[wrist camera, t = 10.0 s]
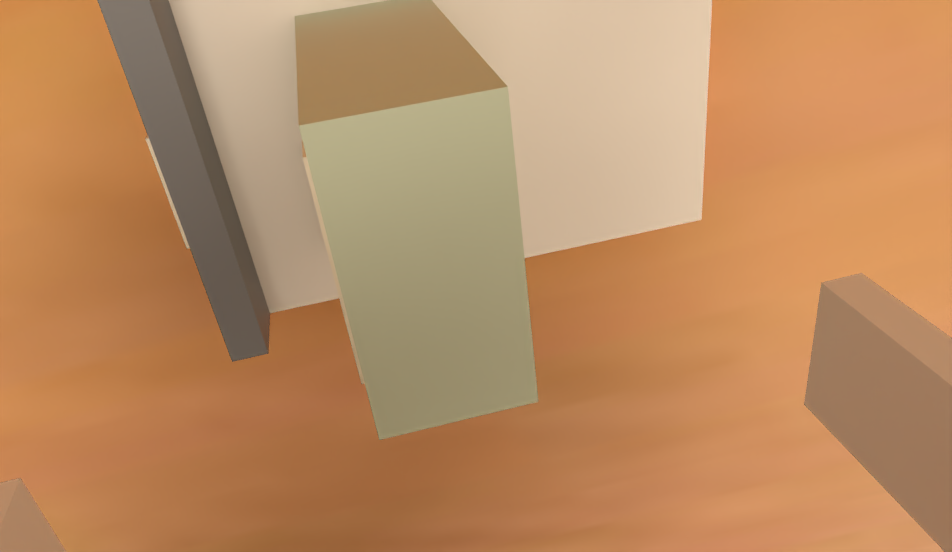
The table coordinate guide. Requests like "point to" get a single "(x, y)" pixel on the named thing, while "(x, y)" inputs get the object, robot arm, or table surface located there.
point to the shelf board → (532, 117)
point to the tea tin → (417, 211)
